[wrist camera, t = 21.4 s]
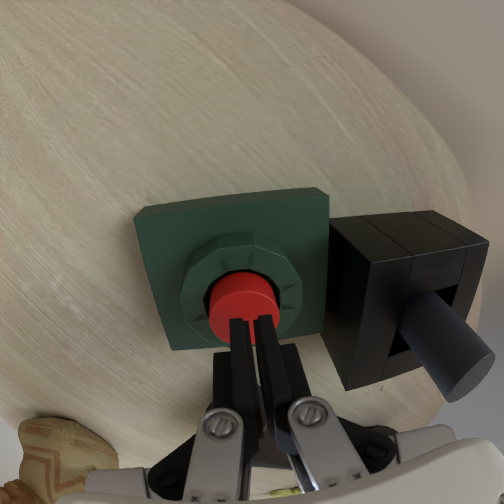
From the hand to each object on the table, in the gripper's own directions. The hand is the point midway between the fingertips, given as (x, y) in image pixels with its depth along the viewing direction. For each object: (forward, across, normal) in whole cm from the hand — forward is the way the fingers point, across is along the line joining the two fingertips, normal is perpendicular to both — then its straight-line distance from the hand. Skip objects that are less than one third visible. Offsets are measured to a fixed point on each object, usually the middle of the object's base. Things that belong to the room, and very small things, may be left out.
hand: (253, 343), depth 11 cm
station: (+7, 0, 0) cm, 7 cm away
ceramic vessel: (+7, +27, +25) cm, 37 cm away
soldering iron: (+7, -10, +2) cm, 12 cm away
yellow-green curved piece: (+7, -5, +52) cm, 53 cm away
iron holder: (+7, -10, +2) cm, 12 cm away
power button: (+3, 0, 0) cm, 3 cm away
